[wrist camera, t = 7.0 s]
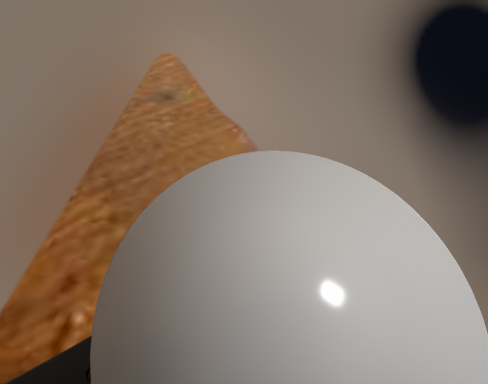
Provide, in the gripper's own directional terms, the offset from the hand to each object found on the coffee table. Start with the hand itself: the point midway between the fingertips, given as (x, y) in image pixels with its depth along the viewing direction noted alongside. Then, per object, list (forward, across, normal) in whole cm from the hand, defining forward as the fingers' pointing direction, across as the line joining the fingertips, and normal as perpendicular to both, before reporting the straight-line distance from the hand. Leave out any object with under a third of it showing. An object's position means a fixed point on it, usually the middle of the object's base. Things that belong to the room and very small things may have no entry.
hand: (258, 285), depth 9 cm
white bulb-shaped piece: (+4, 0, +6) cm, 7 cm away
